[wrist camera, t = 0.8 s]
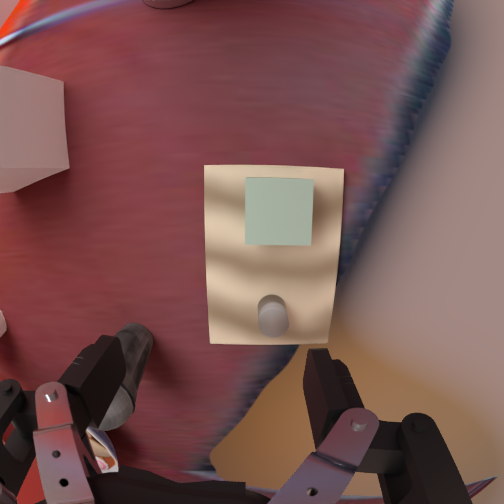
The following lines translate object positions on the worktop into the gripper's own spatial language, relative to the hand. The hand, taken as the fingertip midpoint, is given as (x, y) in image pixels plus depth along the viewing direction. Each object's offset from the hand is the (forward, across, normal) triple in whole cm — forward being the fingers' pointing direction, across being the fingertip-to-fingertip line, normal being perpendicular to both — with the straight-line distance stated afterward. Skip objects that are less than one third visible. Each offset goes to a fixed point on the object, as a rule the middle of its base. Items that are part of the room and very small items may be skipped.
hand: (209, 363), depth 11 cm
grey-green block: (+19, -4, -4) cm, 20 cm away
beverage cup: (+21, +13, +13) cm, 28 cm away
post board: (+21, -4, +2) cm, 21 cm away
